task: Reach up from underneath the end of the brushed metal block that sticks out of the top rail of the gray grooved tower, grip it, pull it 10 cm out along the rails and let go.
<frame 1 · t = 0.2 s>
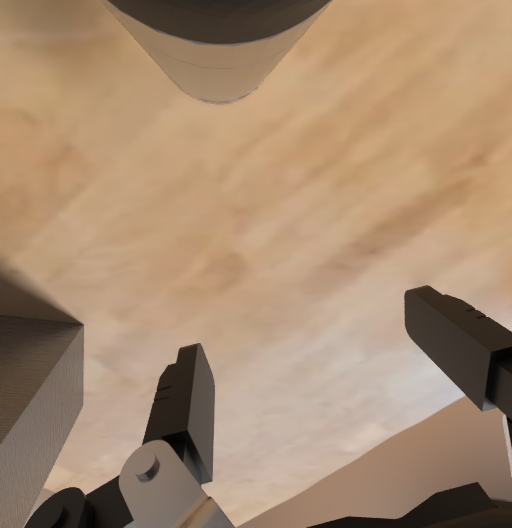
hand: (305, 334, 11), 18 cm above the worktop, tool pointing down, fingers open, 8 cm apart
gray grooved tower: (12, 362, 31), on the worktop
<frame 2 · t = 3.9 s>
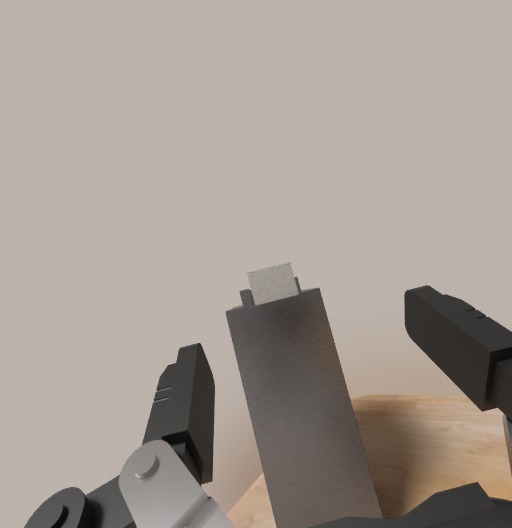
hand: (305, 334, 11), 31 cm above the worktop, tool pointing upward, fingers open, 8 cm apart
brushed metal block: (268, 287, 36), point 34 cm above the worktop, slide at 0.0 cm
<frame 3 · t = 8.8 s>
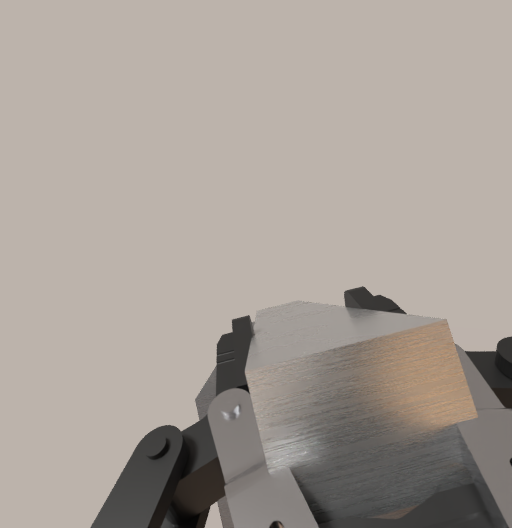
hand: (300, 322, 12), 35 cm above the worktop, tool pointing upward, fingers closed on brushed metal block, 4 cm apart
brushed metal block: (295, 338, 16), point 34 cm above the worktop, slide at 0.0 cm, touching gripper
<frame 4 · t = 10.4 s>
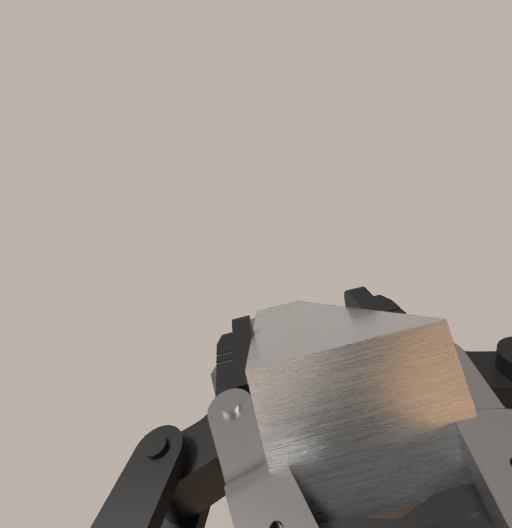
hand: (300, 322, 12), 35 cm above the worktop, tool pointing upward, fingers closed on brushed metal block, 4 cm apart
brushed metal block: (295, 338, 16), point 34 cm above the worktop, slide at 4.9 cm, touching gripper
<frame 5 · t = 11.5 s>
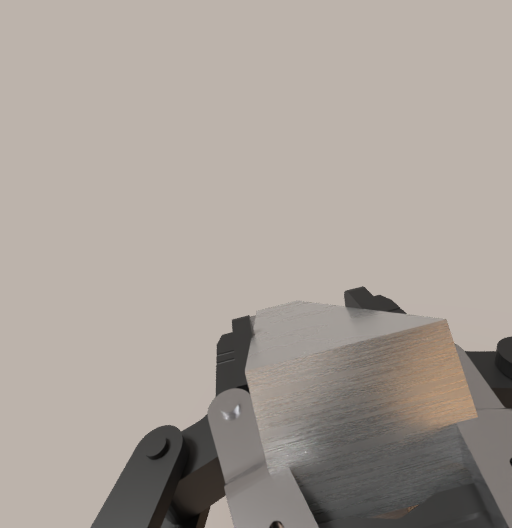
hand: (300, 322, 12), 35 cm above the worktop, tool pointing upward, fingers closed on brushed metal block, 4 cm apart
brushed metal block: (295, 338, 16), point 34 cm above the worktop, slide at 9.8 cm, touching gripper
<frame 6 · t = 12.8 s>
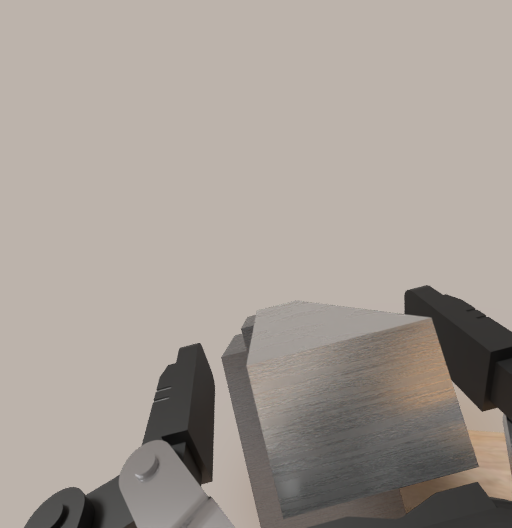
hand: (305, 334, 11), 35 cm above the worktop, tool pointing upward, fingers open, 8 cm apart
brushed metal block: (294, 337, 17), point 34 cm above the worktop, slide at 9.9 cm
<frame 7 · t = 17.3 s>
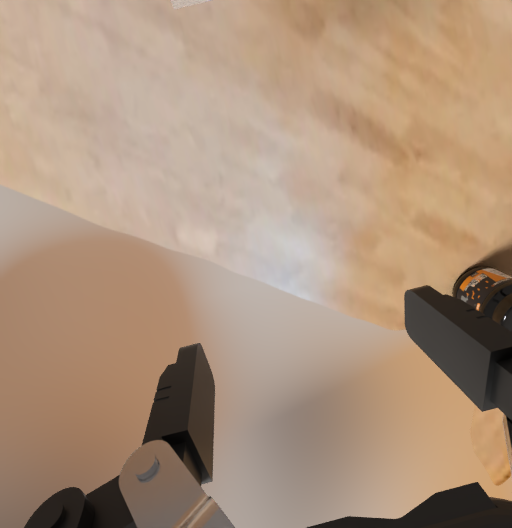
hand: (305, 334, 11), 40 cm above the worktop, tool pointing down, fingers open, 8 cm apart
supplement container: (472, 286, 61), on the worktop
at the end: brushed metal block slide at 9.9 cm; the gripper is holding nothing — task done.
